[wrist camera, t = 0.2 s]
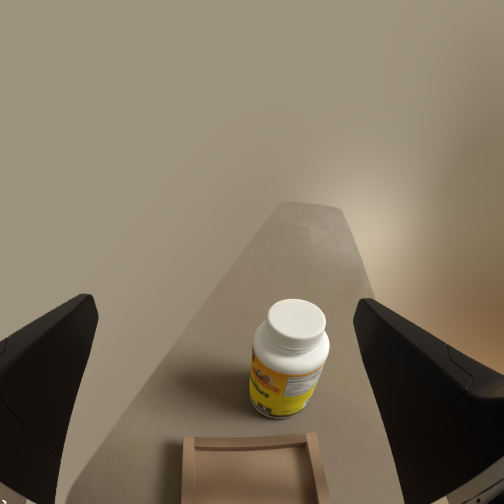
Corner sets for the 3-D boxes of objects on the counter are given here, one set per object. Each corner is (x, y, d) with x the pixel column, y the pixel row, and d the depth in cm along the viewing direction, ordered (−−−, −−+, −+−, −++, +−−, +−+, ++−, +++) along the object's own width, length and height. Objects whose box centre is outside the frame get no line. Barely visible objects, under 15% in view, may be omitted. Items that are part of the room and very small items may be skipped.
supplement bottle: (242, 378, 25) (246, 295, 20) (297, 368, 26) (317, 286, 21) (256, 427, 20) (268, 355, 15) (317, 413, 21) (352, 337, 16)
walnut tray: (329, 543, 10) (338, 542, 9) (186, 552, 9) (181, 554, 8) (310, 440, 19) (315, 431, 18) (187, 445, 18) (183, 436, 17)
